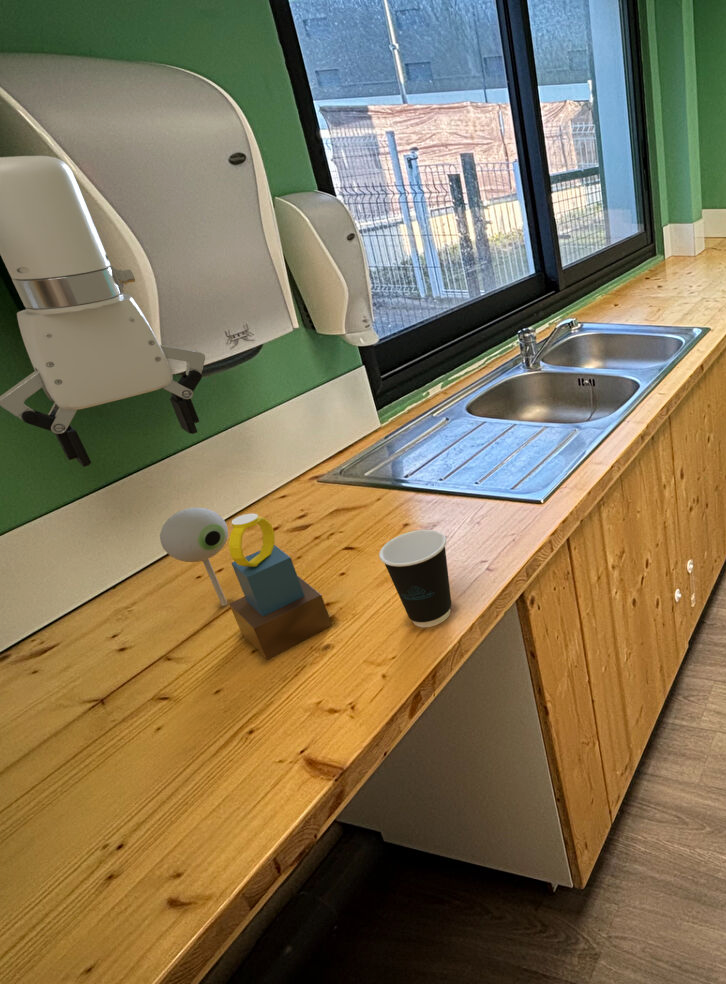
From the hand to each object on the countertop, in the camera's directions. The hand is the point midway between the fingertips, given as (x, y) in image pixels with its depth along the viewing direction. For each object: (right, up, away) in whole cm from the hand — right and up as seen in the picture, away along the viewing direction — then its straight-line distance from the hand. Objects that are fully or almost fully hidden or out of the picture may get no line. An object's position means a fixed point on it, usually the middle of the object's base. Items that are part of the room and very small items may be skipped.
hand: (139, 446), depth 77 cm
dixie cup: (+25, -23, +16) cm, 38 cm away
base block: (+7, -24, +15) cm, 29 cm away
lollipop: (-5, -22, +20) cm, 30 cm away
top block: (+7, -20, +12) cm, 24 cm away
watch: (+7, -14, +10) cm, 19 cm away
